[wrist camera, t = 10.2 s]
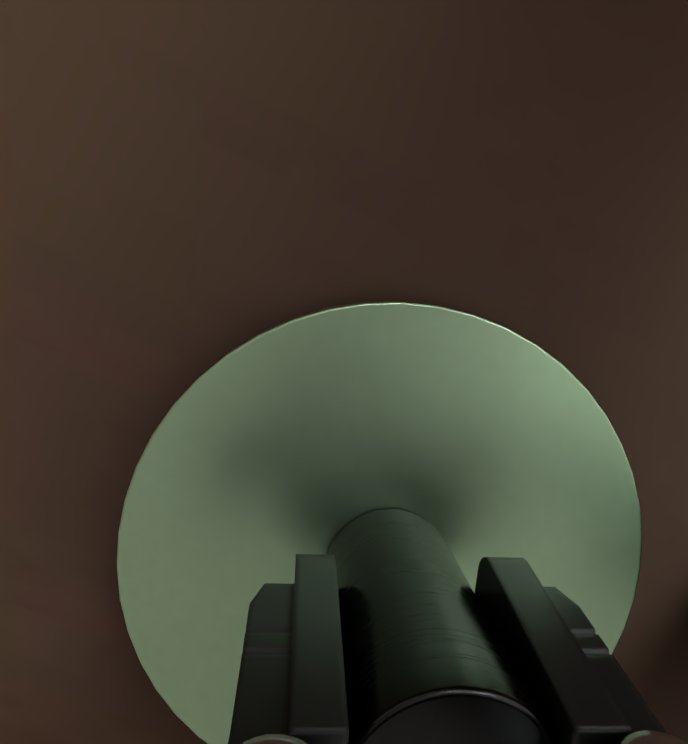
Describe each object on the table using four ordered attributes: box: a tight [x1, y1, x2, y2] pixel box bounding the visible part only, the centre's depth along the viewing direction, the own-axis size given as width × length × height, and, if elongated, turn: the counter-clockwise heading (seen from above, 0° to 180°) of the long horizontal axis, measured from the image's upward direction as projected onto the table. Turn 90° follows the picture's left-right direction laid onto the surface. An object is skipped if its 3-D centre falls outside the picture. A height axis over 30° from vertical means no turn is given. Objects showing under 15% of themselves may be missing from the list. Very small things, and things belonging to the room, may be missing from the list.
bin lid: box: [117, 301, 642, 744], centre depth 10 cm, size 12×12×7 cm
